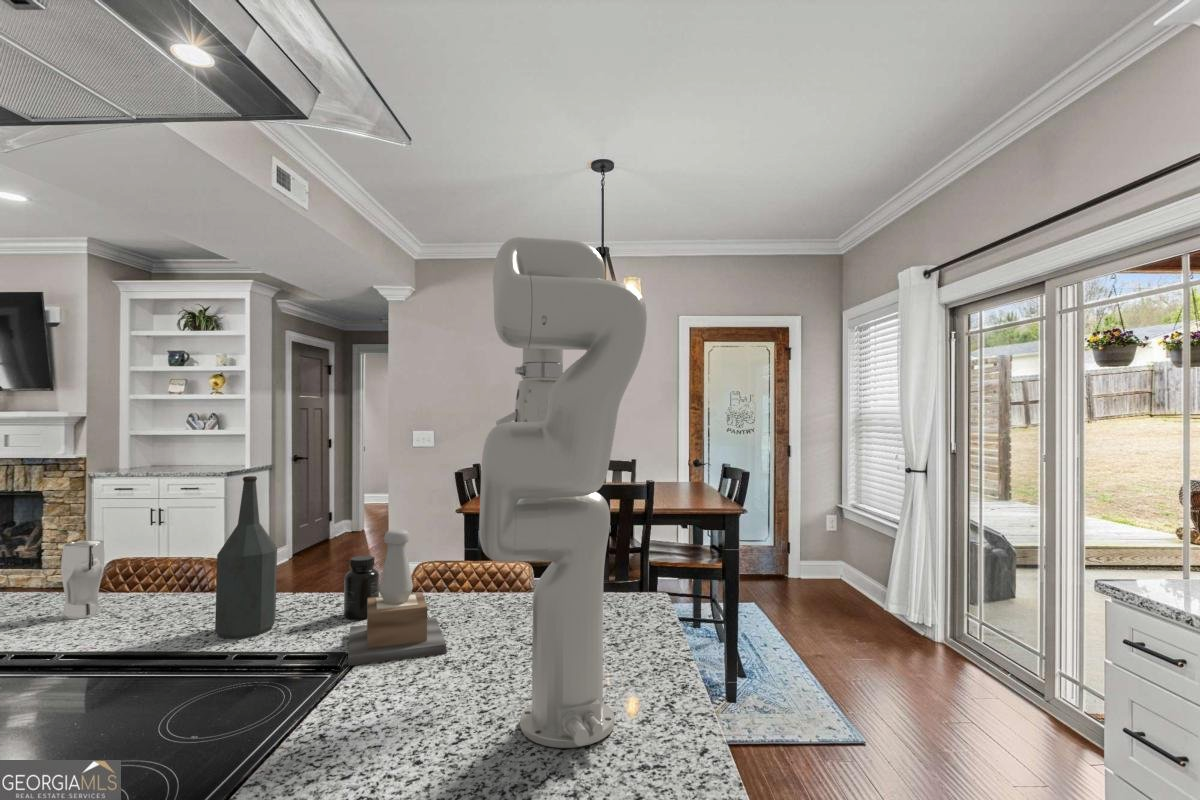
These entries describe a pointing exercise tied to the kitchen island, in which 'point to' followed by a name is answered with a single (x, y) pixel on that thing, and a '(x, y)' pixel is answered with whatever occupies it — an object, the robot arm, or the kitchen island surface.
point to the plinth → (394, 649)
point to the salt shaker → (396, 569)
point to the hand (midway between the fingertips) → (542, 466)
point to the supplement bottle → (360, 587)
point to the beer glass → (82, 577)
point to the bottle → (246, 574)
